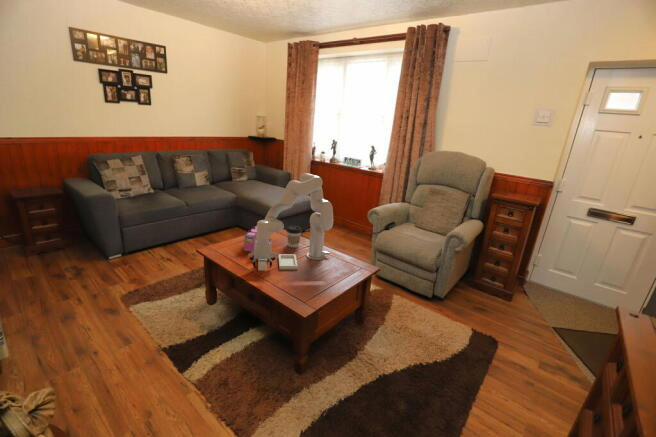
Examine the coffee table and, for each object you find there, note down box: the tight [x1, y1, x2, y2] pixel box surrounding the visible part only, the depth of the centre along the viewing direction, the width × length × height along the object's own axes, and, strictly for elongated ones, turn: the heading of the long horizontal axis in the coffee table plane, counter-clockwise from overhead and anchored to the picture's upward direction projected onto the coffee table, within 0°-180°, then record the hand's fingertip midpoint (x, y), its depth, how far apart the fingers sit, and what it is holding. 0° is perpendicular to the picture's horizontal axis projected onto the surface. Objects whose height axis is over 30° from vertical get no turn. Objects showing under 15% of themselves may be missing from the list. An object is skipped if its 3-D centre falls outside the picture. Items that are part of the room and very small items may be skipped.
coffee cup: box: [286, 225, 303, 249], centre depth 231 cm, size 11×11×15 cm
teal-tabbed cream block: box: [257, 259, 268, 271], centre depth 198 cm, size 5×13×6 cm, turn 10°
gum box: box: [243, 225, 257, 253], centre depth 227 cm, size 22×7×13 cm, turn 171°
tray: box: [278, 253, 299, 271], centre depth 205 cm, size 11×18×2 cm, turn 11°
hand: (262, 266), depth 193 cm, fingers open, 9 cm apart
